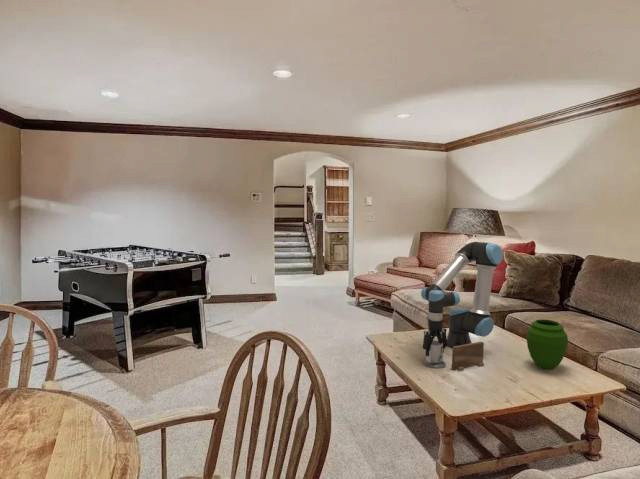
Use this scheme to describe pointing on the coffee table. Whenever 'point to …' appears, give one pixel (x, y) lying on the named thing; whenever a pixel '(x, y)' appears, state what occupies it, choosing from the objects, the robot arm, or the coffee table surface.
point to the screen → (467, 356)
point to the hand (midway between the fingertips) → (434, 360)
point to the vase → (546, 343)
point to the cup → (436, 351)
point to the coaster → (435, 364)
